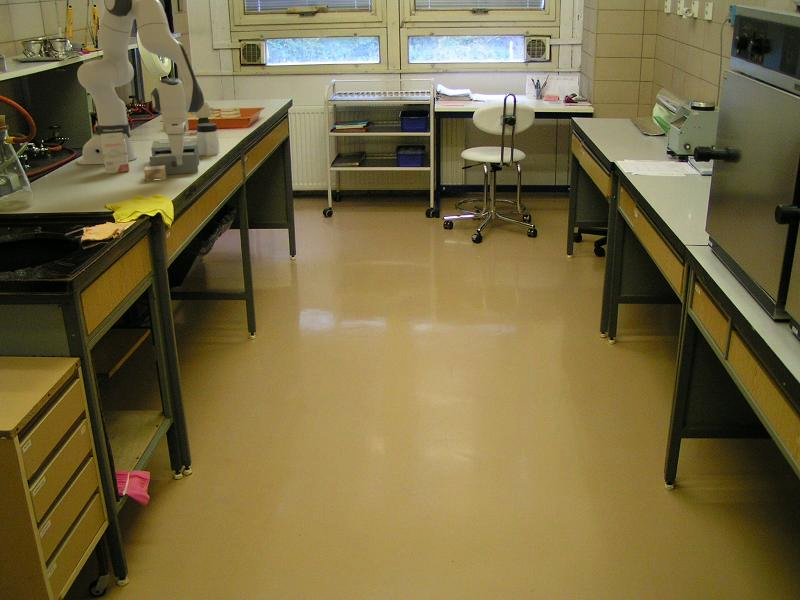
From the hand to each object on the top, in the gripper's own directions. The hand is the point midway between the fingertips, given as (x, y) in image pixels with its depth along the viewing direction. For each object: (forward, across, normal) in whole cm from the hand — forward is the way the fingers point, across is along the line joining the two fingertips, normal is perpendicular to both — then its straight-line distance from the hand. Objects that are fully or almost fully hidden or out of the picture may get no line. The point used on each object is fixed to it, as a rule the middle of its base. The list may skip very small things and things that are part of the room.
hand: (179, 164), depth 309 cm
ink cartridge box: (+5, -17, -24) cm, 30 cm away
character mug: (+5, -103, +8) cm, 103 cm away
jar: (+5, -42, +10) cm, 43 cm away
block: (+4, +1, -9) cm, 10 cm away
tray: (+4, -12, -2) cm, 13 cm away
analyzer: (+4, -28, -2) cm, 28 cm away
